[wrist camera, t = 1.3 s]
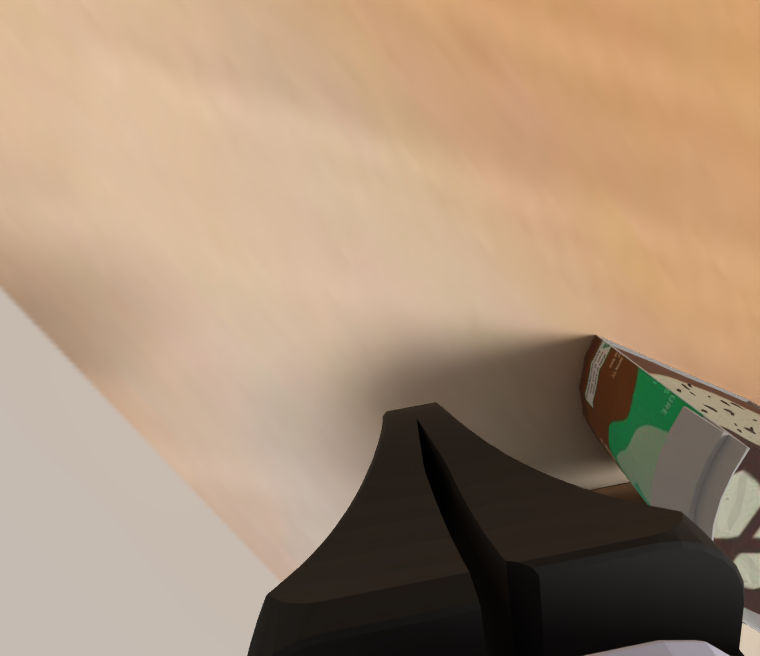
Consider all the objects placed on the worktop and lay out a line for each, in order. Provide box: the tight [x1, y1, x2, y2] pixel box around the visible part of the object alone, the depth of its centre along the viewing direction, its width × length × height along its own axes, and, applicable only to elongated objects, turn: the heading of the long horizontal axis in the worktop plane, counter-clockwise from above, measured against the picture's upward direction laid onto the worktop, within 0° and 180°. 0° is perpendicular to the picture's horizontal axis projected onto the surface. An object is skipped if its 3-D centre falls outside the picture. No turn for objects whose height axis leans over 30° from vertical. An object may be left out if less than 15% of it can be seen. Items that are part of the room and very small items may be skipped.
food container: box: [579, 335, 760, 633], centre depth 21 cm, size 12×6×10 cm, turn 66°
